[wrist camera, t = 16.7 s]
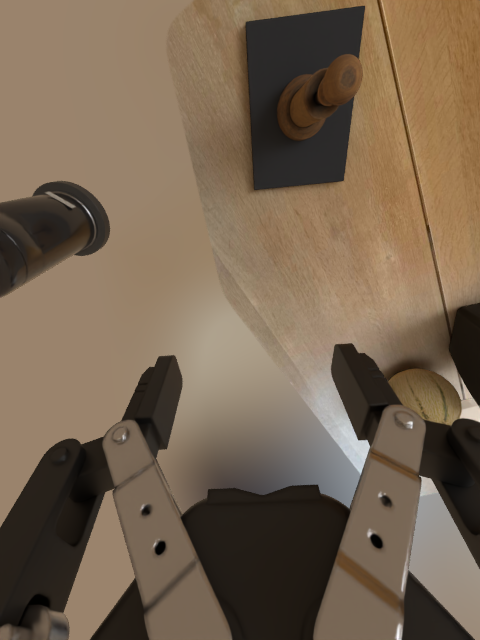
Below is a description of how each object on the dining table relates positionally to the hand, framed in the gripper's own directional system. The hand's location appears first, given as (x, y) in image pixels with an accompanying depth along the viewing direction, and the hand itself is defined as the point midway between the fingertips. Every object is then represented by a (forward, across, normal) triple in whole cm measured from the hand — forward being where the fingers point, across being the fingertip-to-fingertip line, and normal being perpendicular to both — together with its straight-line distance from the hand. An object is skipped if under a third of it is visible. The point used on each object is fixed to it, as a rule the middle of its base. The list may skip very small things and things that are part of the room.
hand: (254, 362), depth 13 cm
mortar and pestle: (+35, -9, -13) cm, 39 cm away
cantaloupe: (+36, -38, +43) cm, 68 cm away
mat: (+36, -9, -13) cm, 39 cm away
